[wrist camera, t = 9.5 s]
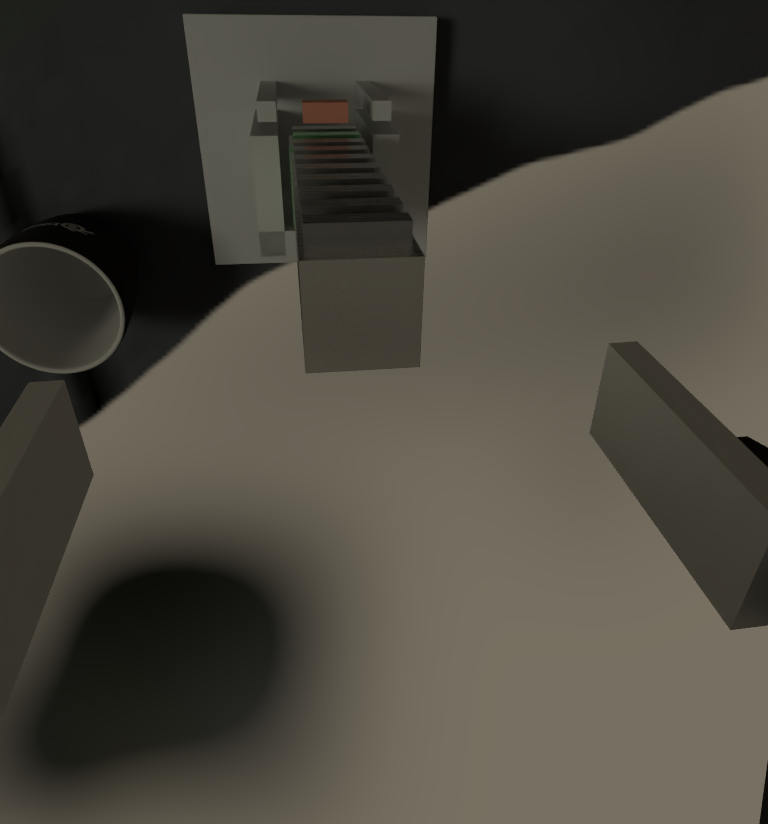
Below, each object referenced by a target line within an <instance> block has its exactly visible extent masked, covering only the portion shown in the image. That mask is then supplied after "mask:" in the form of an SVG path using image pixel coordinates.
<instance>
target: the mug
mask: <svg viewBox="0 0 768 824" xmlns="http://www.w3.org/2000/svg"><path fill="white" fill-rule="evenodd" d="M137 285H138V271H137V263H136V259H135V256H134V253H133V251H132V249H131V247H130V245H129V243H128V242H127V240H126V239H125V238H124V237H123V235H122V234H121V233H120V232H119V231H118V230H116V229H115V228H114V227H113V226H111V225H110V224H108V223H106V222H105V221H103V220H101V219H98V218H95V217H92V216H89V215H83V214H66V215H60V216H55V217H52V218H49V219H46V220H43V221H41V222H38V223H36V224H34V225H32V226H30V227H28V228H26V229H25V230H23V231H21V232H19V233H18V234H16V235H14V236H13V237H11V238H10V239H8V240H7V241H5V242H4V243H3V244H1V245H0V350H1V351H2V352H4V353H5V354H6V355H8V356H9V357H11V358H12V359H14V360H16V361H17V362H19V363H21V364H24V365H26V366H28V367H31V368H34V369H37V370H41V371H45V372H51V373H76V372H81V371H85V370H88V369H91V368H93V367H95V366H97V365H99V364H101V363H102V362H104V361H105V360H106V359H108V358H109V357H110V356H111V355H112V354H113V353H114V352H115V350H116V349H117V348H118V346H119V345H120V343H121V341H122V339H123V337H124V335H125V333H126V330H127V328H128V325H129V322H130V319H131V316H132V312H133V308H134V304H135V299H136V293H137Z"/></svg>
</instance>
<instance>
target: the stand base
mask: <svg viewBox="0 0 768 824" xmlns="http://www.w3.org/2000/svg"><path fill="white" fill-rule="evenodd" d="M183 21H184V29H185V36H186V44H187V51H188V59H189V66H190V74H191V81H192V89H193V97H194V104H195V112H196V119H197V127H198V134H199V142H200V149H201V157H202V164H203V172H204V180H205V187H206V195H207V202H208V210H209V217H210V225H211V232H212V240H213V247H214V255H215V263H216V265H225V264H253V263H281V262H297V250H296V237H295V228H294V222H293V206H292V190H291V174H290V158H289V136H292V126H356V128H357V132H359V133H360V134H361V138H363V139H364V141H365V145H367V146H368V147H369V149H370V153H372V154H373V156H374V157H375V163H378V164H379V165H380V167H381V173H384V174H385V175H386V177H387V184H391V185H392V187H393V188H394V190H395V197H399V198H400V200H401V202H402V203H403V212H408V213H409V215H410V216H411V218H412V220H413V236H414V238H415V240H416V242H417V243H418V245H419V247H420V249H421V250H422V252H423V254H424V256H425V257H426V239H427V219H428V199H429V178H430V157H431V136H432V115H433V94H434V73H435V52H436V31H437V17H434V16H374V15H282V14H190V13H186V14H183Z"/></svg>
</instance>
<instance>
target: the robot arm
mask: <svg viewBox="0 0 768 824" xmlns="http://www.w3.org/2000/svg"><path fill="white" fill-rule="evenodd" d="M590 434H591V435H592V437H593V438H594V440H595V441H596V443H597V444H598V445H599V447H600V448H601V450H602V451H603V452H604V453H605V455H606V457H607V458H608V459H609V461H610V462H611V464H612V465H613V466H614V468H615V469H616V470H617V472H618V473H619V475H620V476H621V477H622V479H623V480H624V482H625V483H626V484H627V486H628V487H629V489H630V490H631V491H632V493H633V494H634V496H635V497H636V499H637V500H638V501H639V503H640V504H641V505H642V507H643V508H644V510H645V511H646V512H647V514H648V515H649V517H650V518H651V520H652V521H653V522H654V524H655V525H656V527H657V528H658V529H659V531H660V532H661V534H662V535H663V536H664V538H665V539H666V540H667V542H668V543H669V545H670V546H671V548H672V549H673V550H674V552H675V553H676V555H677V556H678V557H679V559H680V560H681V561H682V563H683V564H684V566H685V567H686V569H687V570H688V571H689V573H690V574H691V575H692V577H693V578H694V580H695V581H696V583H697V584H698V585H699V587H700V588H701V590H702V591H703V592H704V594H705V595H706V597H707V598H708V599H709V600H710V602H711V604H712V605H713V606H714V608H715V609H716V610H717V612H718V613H719V615H720V616H721V618H722V619H723V620H724V622H725V623H726V625H727V626H728V627H729V629H730V630H735V629H742V628H750V627H759V626H766V625H768V448H767V447H766V446H764V445H762V444H760V443H758V442H756V441H754V440H753V439H751V438H749V437H736V436H735V435H734V434H733V433H732V432H731V431H730V430H728V429H727V428H726V427H725V426H724V425H723V424H722V423H721V422H720V421H719V420H718V419H717V418H716V417H715V416H714V415H713V414H712V413H711V412H710V411H709V410H708V409H707V408H706V407H705V406H704V405H703V404H702V403H700V402H699V401H698V400H697V399H696V398H695V397H694V396H693V395H692V394H691V393H690V392H689V391H688V390H687V389H686V388H685V387H684V386H683V385H682V384H681V383H680V382H679V381H678V380H677V379H676V378H674V376H672V375H671V374H670V373H669V372H668V371H667V370H666V369H665V368H664V367H663V366H662V365H661V364H660V363H659V362H658V361H657V360H656V359H655V358H653V356H652V355H651V354H650V353H649V352H648V351H646V350H645V349H644V348H643V347H642V346H641V345H640V344H639V343H638V342H622V343H609V344H608V348H607V353H606V358H605V363H604V368H603V373H602V377H601V382H600V386H599V391H598V396H597V401H596V406H595V410H594V415H593V420H592V425H591V429H590ZM92 478H93V471H92V468H91V465H90V462H89V459H88V455H87V452H86V449H85V446H84V442H83V439H82V436H81V433H80V430H79V426H78V423H77V420H76V417H75V414H74V410H73V407H72V404H71V401H70V398H69V394H68V391H67V388H66V385H65V381H64V380H59V381H44V382H29V383H28V385H27V386H26V388H25V389H24V391H23V393H22V394H21V396H20V397H19V399H18V400H17V402H16V404H15V405H14V407H13V408H12V410H11V412H10V413H9V415H8V416H7V418H6V419H5V421H4V423H3V424H2V426H1V427H0V721H1V719H2V717H3V714H4V712H5V709H6V706H7V704H8V701H9V698H10V696H11V693H12V690H13V688H14V685H15V682H16V680H17V677H18V674H19V672H20V669H21V666H22V664H23V661H24V658H25V656H26V653H27V651H28V648H29V645H30V642H31V640H32V637H33V635H34V632H35V629H36V626H37V624H38V621H39V619H40V616H41V613H42V611H43V608H44V605H45V603H46V600H47V597H48V595H49V592H50V589H51V587H52V584H53V581H54V579H55V576H56V573H57V571H58V568H59V565H60V563H61V560H62V557H63V555H64V552H65V549H66V547H67V544H68V542H69V539H70V536H71V533H72V530H73V528H74V526H75V523H76V520H77V518H78V515H79V512H80V510H81V507H82V504H83V501H84V499H85V496H86V494H87V491H88V488H89V486H90V483H91V480H92ZM760 824H768V763H767V771H766V778H765V786H764V793H763V801H762V809H761V816H760Z"/></svg>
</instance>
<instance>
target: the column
mask: <svg viewBox="0 0 768 824" xmlns="http://www.w3.org/2000/svg"><path fill="white" fill-rule="evenodd" d="M289 158H290V174H291V190H292V206H293V222H294V228H295V237H296V250H297V264H298V277H299V290H300V304H301V318H302V331H303V344H304V357H305V372H306V373H320V372H338V371H357V370H375V369H392V368H410V367H420V352H421V331H422V310H423V309H422V308H423V288H424V267H425V256H424V254H423V252H422V250H421V249H420V247H419V245H418V243H417V242H416V240H415V238H414V236H413V220H412V218H411V216H410V215H409V213H408V212H403V203H402V202H401V200H400V198H399V197H395V190H394V188H393V187H392V185H391V184H387V177H386V175H385V174H384V173H381V167H380V165H379V164H378V163H375V157H374V156H373V154H372V153H370V149H369V147H368V146H367V145H365V141H364V139H363V138H361V134H360V133H359V132H357V128H356V126H292V136H289Z"/></svg>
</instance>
